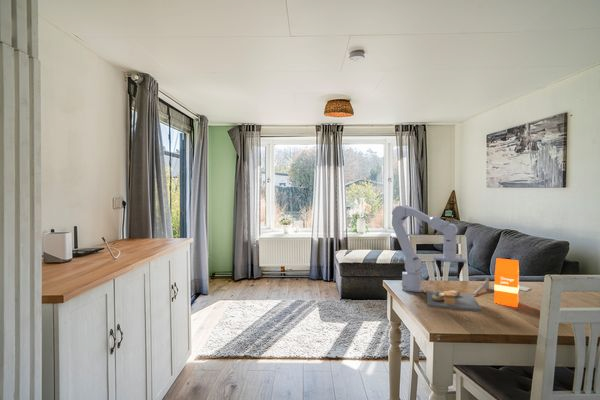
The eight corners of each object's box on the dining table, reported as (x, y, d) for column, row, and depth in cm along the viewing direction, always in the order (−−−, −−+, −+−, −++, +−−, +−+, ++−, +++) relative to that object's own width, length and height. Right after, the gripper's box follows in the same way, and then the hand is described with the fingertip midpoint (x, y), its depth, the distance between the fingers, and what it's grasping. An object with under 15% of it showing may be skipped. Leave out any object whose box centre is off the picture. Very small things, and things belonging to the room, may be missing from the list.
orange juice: (517, 307, 144) (518, 261, 144) (494, 303, 150) (494, 259, 149) (518, 302, 151) (519, 259, 150) (496, 298, 156) (496, 256, 156)
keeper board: (428, 306, 146) (428, 295, 146) (426, 292, 166) (426, 282, 166) (481, 311, 139) (481, 300, 139) (472, 296, 159) (472, 286, 159)
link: (438, 301, 148) (438, 293, 148) (430, 299, 151) (430, 291, 151) (462, 295, 157) (462, 287, 157) (454, 292, 160) (454, 285, 160)
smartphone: (525, 290, 167) (494, 283, 179) (525, 293, 167) (494, 285, 179) (531, 288, 172) (500, 281, 184) (531, 290, 172) (500, 283, 184)
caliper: (486, 288, 173) (487, 276, 173) (489, 289, 172) (489, 277, 172) (471, 296, 160) (471, 284, 159) (473, 297, 159) (474, 284, 159)
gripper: (433, 249, 158) (433, 277, 159) (467, 251, 153) (466, 280, 153) (433, 246, 165) (433, 273, 165) (466, 248, 159) (465, 276, 160)
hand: (449, 276), depth 160 cm, fingers open, 7 cm apart
